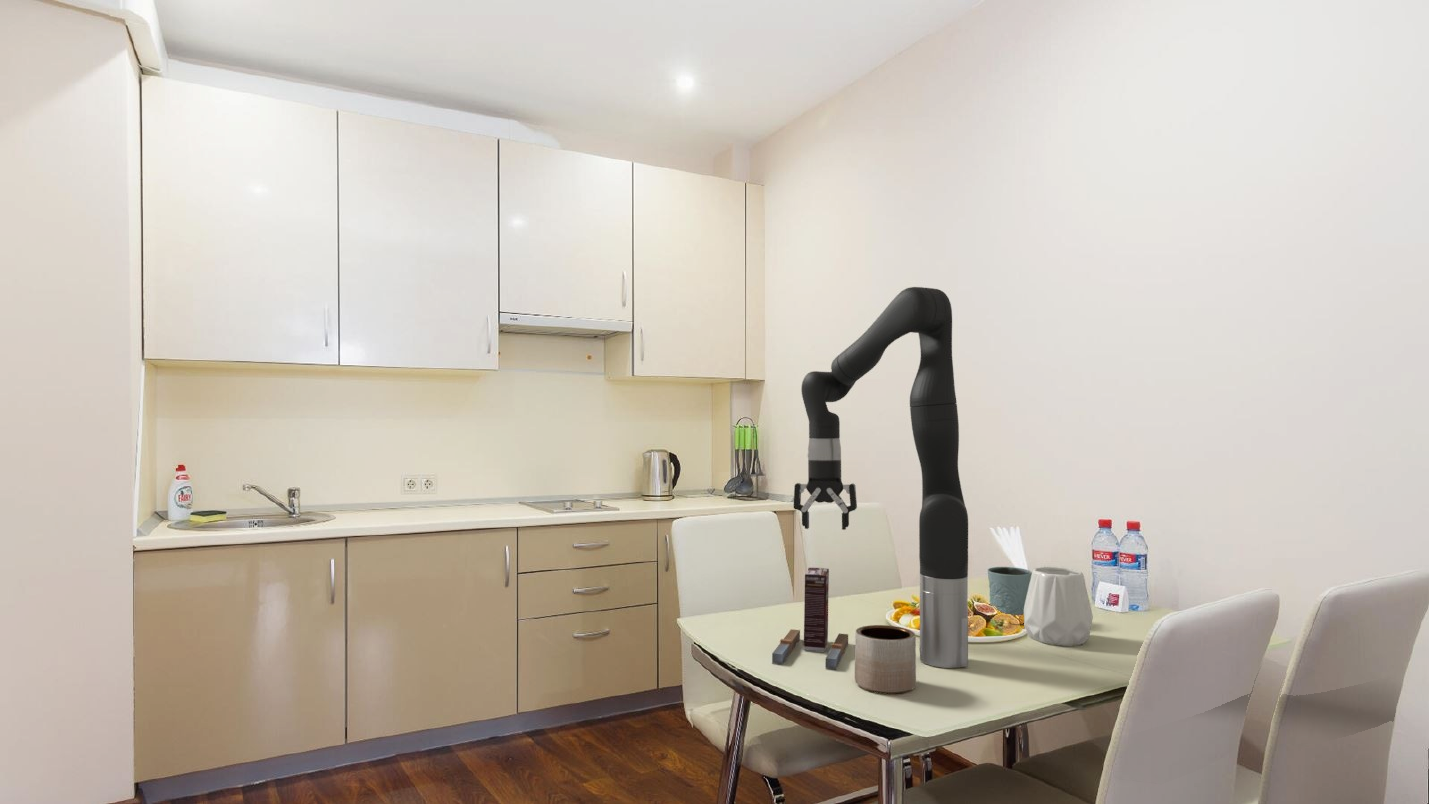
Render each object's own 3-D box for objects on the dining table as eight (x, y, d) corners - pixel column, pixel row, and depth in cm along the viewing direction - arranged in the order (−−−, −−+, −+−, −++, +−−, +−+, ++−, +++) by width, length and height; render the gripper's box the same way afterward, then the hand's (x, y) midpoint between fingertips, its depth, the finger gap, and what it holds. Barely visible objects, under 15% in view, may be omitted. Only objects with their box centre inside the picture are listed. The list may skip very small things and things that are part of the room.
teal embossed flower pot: (1026, 616, 197) (1026, 567, 198) (1036, 626, 187) (1036, 575, 188) (983, 614, 199) (984, 566, 199) (992, 624, 189) (992, 573, 189)
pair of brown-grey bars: (848, 643, 172) (848, 631, 172) (835, 669, 153) (835, 656, 153) (790, 638, 175) (790, 626, 175) (772, 663, 157) (772, 650, 157)
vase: (1094, 636, 179) (1093, 568, 180) (1091, 652, 167) (1091, 579, 167) (1027, 628, 186) (1027, 563, 186) (1020, 643, 173) (1020, 573, 174)
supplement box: (826, 652, 165) (826, 575, 165) (802, 651, 166) (803, 574, 166) (828, 641, 173) (829, 567, 174) (806, 639, 174) (807, 566, 175)
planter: (926, 685, 145) (926, 632, 145) (897, 700, 137) (897, 644, 137) (874, 672, 152) (874, 621, 153) (843, 685, 144) (843, 632, 145)
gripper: (857, 457, 185) (858, 527, 185) (796, 457, 189) (797, 526, 189) (854, 459, 178) (855, 532, 178) (791, 458, 182) (791, 530, 182)
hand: (825, 528), depth 183 cm, fingers open, 8 cm apart
